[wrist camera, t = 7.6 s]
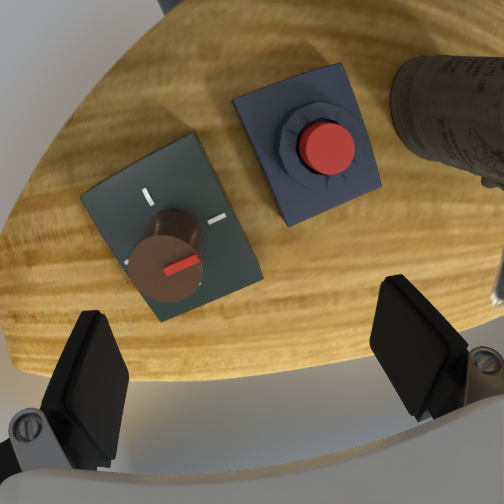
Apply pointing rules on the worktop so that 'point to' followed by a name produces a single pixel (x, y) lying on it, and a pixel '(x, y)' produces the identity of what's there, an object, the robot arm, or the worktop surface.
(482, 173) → the beer stein
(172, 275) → the knob
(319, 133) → the button
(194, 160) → the panel
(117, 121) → the worktop surface
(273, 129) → the button box
